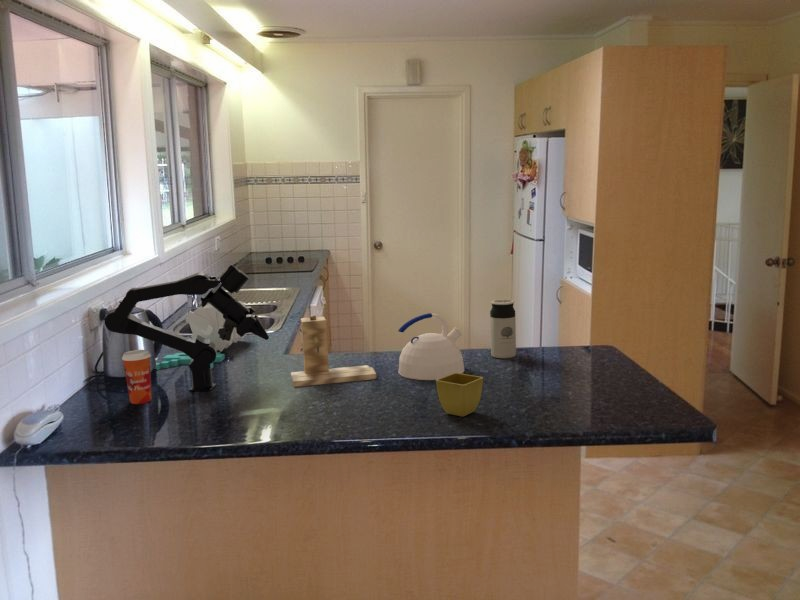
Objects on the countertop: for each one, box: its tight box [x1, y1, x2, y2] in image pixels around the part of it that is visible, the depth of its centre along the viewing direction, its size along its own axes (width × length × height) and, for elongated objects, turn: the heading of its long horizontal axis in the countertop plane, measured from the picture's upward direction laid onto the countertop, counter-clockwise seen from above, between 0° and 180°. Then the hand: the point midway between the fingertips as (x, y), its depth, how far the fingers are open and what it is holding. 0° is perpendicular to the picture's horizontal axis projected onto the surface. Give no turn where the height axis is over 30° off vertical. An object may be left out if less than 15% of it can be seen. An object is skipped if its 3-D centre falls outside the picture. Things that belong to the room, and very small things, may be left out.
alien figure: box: [155, 351, 226, 371], centre depth 250 cm, size 20×2×20 cm
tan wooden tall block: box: [300, 314, 330, 374], centre depth 217 cm, size 7×16×18 cm, turn 12°
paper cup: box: [121, 349, 152, 405], centre depth 206 cm, size 8×8×14 cm
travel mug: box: [489, 298, 517, 359], centre depth 238 cm, size 8×8×18 cm
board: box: [290, 364, 377, 388], centre depth 221 cm, size 24×16×2 cm, turn 102°
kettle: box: [397, 312, 465, 381], centre depth 224 cm, size 20×21×18 cm
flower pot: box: [435, 373, 484, 417], centre depth 185 cm, size 9×9×9 cm
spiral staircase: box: [185, 296, 253, 353], centre depth 269 cm, size 18×18×25 cm
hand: (268, 338), depth 219 cm, fingers closed
